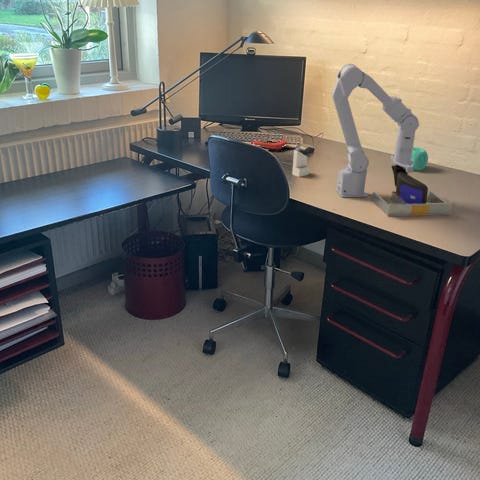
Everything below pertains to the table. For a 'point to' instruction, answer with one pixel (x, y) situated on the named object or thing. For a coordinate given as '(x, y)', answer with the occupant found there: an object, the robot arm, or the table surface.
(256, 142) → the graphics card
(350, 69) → the robot arm
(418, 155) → the decorative dice
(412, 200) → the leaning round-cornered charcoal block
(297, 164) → the white wedge bracket
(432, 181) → the table surface
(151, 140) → the table surface
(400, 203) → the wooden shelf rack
